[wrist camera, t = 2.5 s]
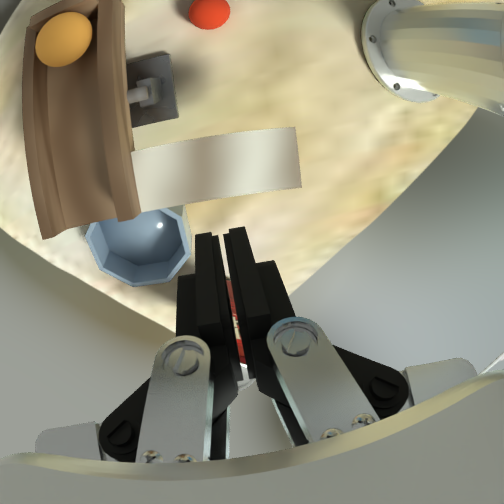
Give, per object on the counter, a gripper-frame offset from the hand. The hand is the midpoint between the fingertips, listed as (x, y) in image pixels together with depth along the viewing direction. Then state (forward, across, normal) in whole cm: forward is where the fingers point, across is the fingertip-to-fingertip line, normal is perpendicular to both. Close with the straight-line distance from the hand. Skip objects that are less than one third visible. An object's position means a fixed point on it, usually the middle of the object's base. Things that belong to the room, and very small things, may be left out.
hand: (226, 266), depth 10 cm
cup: (+19, +8, +7) cm, 22 cm away
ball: (+10, +8, -12) cm, 18 cm away
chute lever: (+13, +4, -6) cm, 14 cm away
